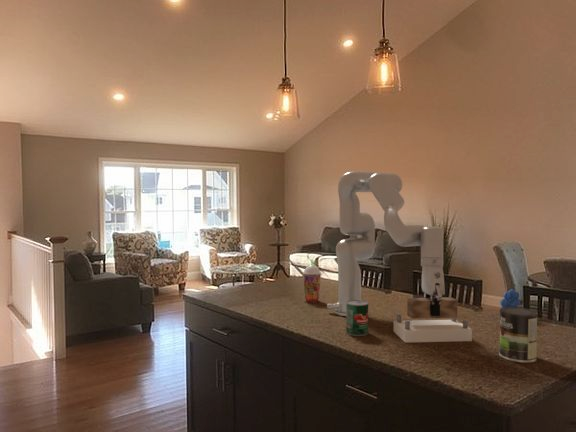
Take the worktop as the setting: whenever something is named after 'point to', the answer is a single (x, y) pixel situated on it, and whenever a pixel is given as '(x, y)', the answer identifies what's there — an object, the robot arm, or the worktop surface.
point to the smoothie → (312, 282)
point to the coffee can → (518, 334)
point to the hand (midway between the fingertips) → (431, 313)
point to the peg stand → (432, 330)
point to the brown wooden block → (422, 308)
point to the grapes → (510, 299)
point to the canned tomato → (357, 317)
